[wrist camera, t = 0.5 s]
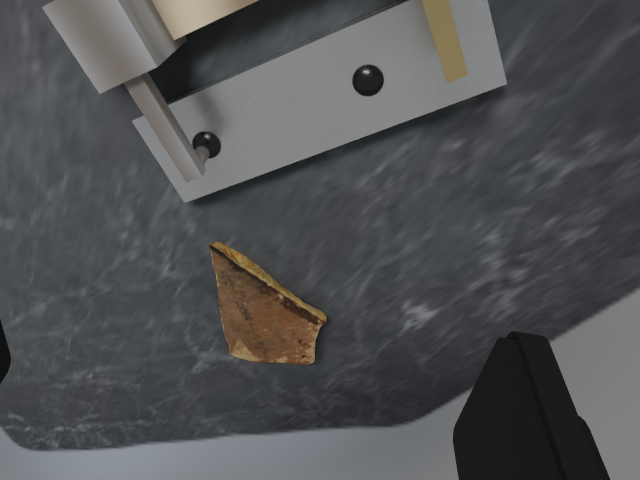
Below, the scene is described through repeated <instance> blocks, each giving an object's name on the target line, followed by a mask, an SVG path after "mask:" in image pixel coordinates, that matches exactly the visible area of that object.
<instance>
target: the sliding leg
mask: <svg viewBox="0 0 640 480" xmlns="http://www.w3.org/2000/svg"><path fill="white" fill-rule="evenodd" d="M422 3H423V7H424V10H425V13H426V17H427V20H428V23H429V27H430V30H431V33H432V37H433V40H434V44H435V47H436V50H437V54H438V57H439V60H440V64H441V67H442V70H443V74H444V77H445V80H446V82H447V83H449V82H452V81H455V80H457V79H460V78H462V77H465V76H468V75H469V74H468V71H467V67H466V63H465V60H464V56H463V52H462V49H461V45H460V41H459V38H458V34H457V30H456V27H455V23H454V19H453V16H452V12H451V8H450V5H449V1H448V0H422Z"/></svg>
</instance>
